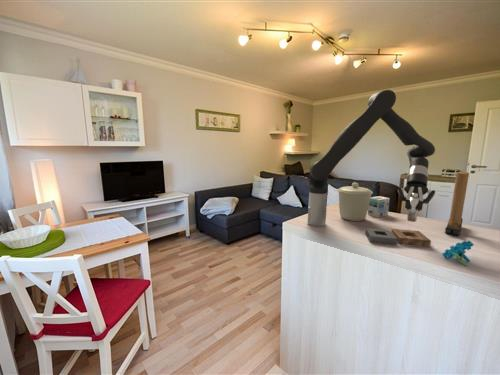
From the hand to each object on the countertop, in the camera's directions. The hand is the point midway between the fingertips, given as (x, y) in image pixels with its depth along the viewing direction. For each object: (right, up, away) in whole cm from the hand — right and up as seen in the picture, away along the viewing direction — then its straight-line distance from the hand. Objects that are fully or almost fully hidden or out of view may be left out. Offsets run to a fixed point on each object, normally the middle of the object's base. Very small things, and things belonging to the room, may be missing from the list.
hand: (413, 209), depth 93 cm
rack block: (+1, -14, +4) cm, 15 cm away
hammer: (+32, -12, +16) cm, 38 cm away
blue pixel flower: (+7, -17, -12) cm, 22 cm away
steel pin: (+1, -5, +3) cm, 6 cm away
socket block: (-11, -14, +6) cm, 19 cm away
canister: (-10, -9, +35) cm, 37 cm away
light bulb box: (+9, -8, +42) cm, 44 cm away
